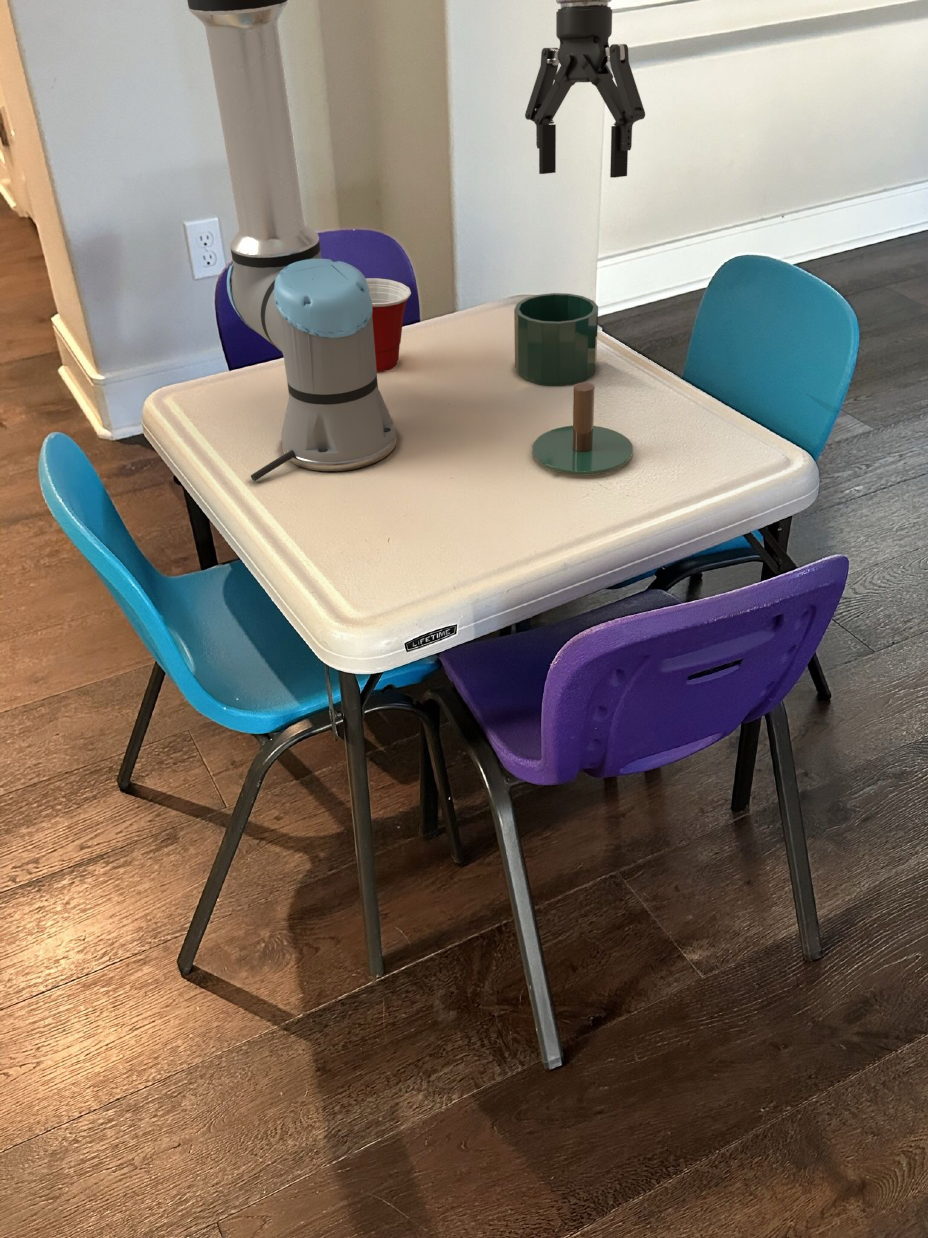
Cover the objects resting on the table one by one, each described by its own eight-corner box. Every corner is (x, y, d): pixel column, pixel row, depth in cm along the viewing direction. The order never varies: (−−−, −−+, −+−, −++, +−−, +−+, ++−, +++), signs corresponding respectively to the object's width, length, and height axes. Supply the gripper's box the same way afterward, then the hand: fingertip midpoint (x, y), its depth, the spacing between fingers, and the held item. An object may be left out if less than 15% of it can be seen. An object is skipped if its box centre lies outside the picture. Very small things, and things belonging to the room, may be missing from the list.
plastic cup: (413, 378, 168) (408, 300, 161) (341, 380, 169) (333, 302, 162) (417, 349, 177) (412, 274, 170) (349, 351, 178) (341, 276, 171)
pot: (547, 392, 163) (548, 329, 157) (499, 366, 171) (498, 305, 165) (612, 371, 168) (614, 309, 162) (562, 346, 176) (563, 287, 170)
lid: (573, 489, 140) (575, 418, 134) (512, 450, 148) (511, 382, 143) (653, 459, 145) (658, 390, 140) (589, 423, 154) (591, 357, 148)
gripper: (676, -1, 145) (668, 175, 155) (536, 11, 162) (537, 169, 171) (638, -2, 141) (633, 180, 150) (499, 10, 158) (502, 173, 167)
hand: (582, 175), depth 161 cm, fingers open, 13 cm apart
